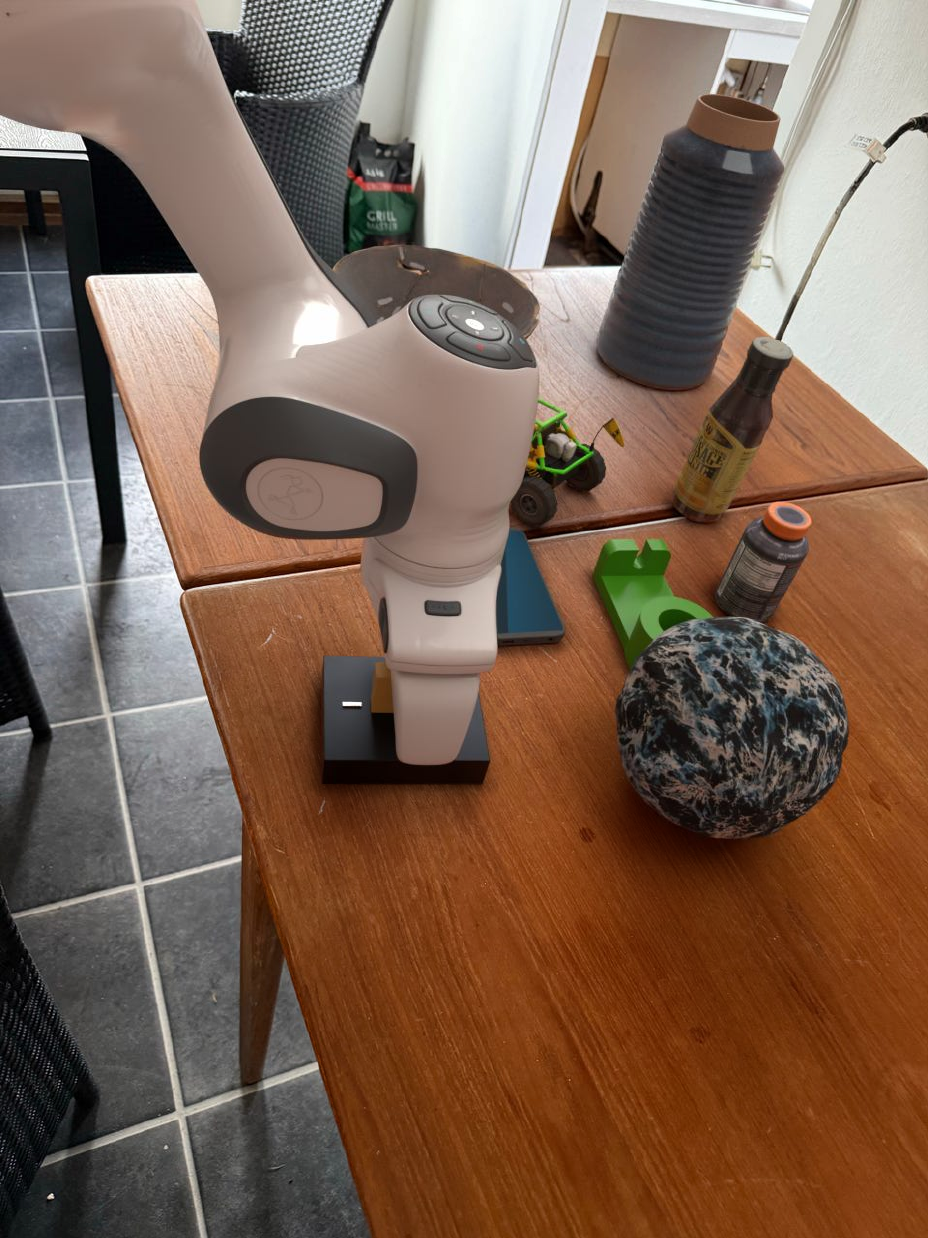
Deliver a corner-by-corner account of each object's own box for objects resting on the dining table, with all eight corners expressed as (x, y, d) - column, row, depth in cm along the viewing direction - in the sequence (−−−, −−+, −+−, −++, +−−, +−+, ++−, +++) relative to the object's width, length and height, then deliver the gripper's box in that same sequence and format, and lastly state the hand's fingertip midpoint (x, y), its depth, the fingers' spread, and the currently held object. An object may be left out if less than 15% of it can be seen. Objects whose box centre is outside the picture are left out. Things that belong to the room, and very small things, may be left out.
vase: (586, 372, 115) (663, 105, 93) (601, 322, 127) (673, 74, 105) (707, 405, 114) (814, 144, 92) (711, 351, 126) (806, 108, 104)
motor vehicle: (477, 421, 102) (494, 337, 95) (615, 501, 95) (644, 417, 88) (412, 456, 95) (425, 368, 88) (556, 546, 88) (583, 458, 81)
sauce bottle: (659, 493, 98) (725, 326, 84) (706, 489, 100) (778, 326, 86) (686, 530, 94) (760, 361, 80) (735, 526, 96) (816, 361, 82)
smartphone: (485, 647, 76) (487, 639, 75) (448, 534, 86) (449, 527, 86) (566, 642, 78) (569, 635, 77) (521, 533, 88) (523, 526, 88)
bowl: (314, 313, 114) (318, 236, 107) (494, 322, 121) (509, 250, 114) (340, 421, 97) (346, 337, 91) (547, 424, 104) (568, 347, 97)
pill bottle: (752, 581, 89) (799, 491, 81) (783, 622, 85) (837, 532, 78) (702, 586, 87) (746, 495, 79) (732, 629, 83) (782, 537, 76)
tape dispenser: (714, 690, 77) (734, 654, 74) (640, 693, 75) (657, 656, 72) (655, 574, 87) (671, 539, 84) (589, 575, 86) (602, 539, 82)
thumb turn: (371, 713, 65) (376, 675, 62) (370, 697, 66) (375, 659, 63) (437, 713, 66) (446, 676, 63) (435, 698, 67) (444, 661, 64)
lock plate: (321, 785, 64) (324, 759, 61) (321, 680, 71) (323, 653, 68) (483, 784, 66) (490, 759, 64) (467, 683, 73) (473, 657, 71)
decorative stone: (611, 871, 62) (682, 742, 52) (582, 697, 74) (635, 563, 64) (819, 882, 65) (928, 761, 54) (760, 712, 76) (839, 585, 66)
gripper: (374, 458, 62) (358, 598, 72) (390, 674, 48) (368, 813, 58) (461, 464, 64) (434, 601, 73) (502, 677, 49) (462, 813, 59)
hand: (405, 697), depth 65 cm, fingers closed on thumb turn
